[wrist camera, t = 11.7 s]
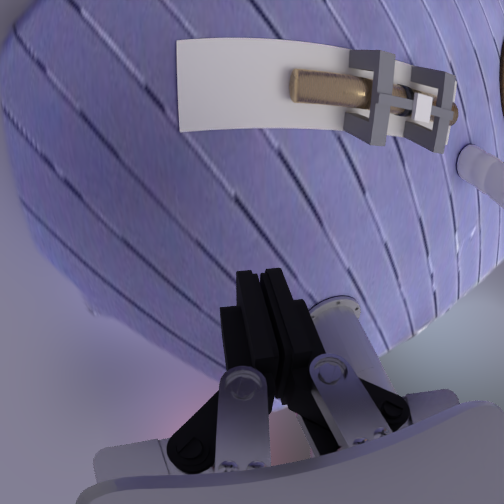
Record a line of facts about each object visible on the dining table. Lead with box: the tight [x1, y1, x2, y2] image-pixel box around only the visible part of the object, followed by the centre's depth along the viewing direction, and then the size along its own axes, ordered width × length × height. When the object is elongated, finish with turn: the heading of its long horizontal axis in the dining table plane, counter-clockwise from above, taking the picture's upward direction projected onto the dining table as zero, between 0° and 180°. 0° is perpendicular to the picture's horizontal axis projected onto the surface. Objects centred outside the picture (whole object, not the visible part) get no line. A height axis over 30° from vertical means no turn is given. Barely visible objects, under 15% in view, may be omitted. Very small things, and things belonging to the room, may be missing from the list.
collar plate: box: [177, 38, 457, 154], centre depth 28 cm, size 11×40×9 cm, turn 89°
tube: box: [289, 68, 458, 126], centre depth 29 cm, size 24×4×4 cm, turn 89°
